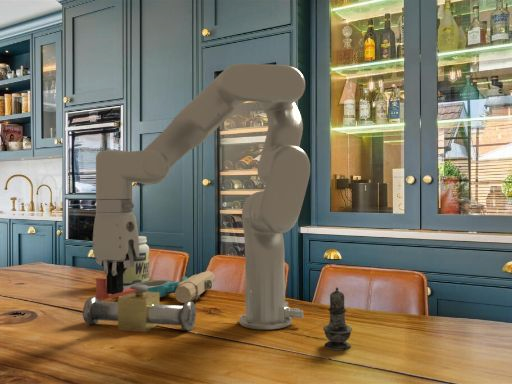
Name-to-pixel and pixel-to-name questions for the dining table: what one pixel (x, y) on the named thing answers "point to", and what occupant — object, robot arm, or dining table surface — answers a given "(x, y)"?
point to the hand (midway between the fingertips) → (115, 292)
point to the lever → (102, 293)
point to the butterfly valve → (181, 286)
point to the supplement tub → (138, 266)
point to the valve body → (139, 312)
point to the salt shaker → (337, 324)
